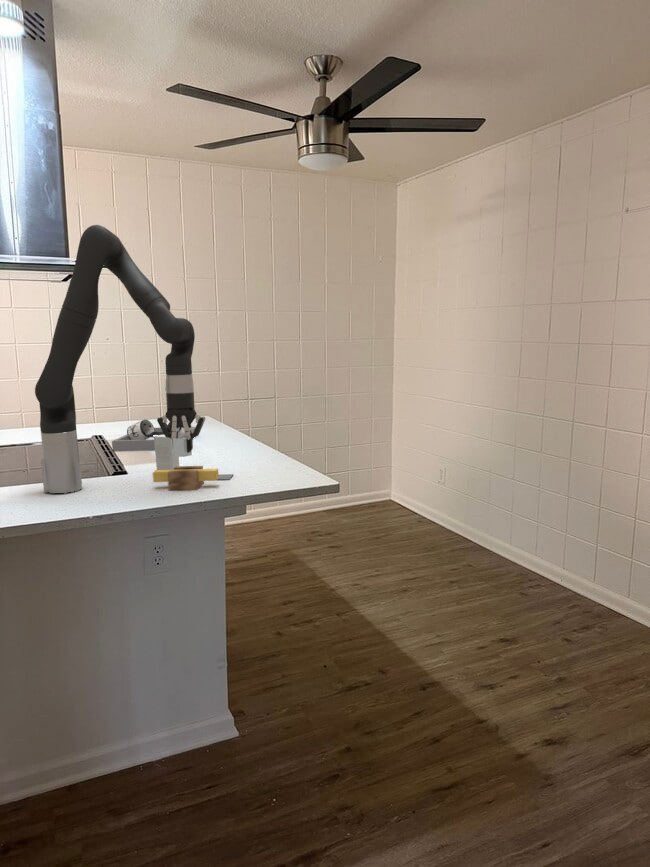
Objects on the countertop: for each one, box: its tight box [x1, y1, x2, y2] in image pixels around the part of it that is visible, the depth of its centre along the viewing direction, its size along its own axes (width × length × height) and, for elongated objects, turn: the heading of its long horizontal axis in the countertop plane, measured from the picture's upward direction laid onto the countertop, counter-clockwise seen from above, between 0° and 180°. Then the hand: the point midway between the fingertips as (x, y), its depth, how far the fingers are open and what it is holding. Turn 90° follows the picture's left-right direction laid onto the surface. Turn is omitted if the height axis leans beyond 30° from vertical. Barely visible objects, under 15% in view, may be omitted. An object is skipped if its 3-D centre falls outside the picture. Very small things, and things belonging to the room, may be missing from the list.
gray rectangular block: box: [173, 438, 193, 458], centre depth 167 cm, size 3×8×5 cm, turn 177°
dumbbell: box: [126, 419, 185, 440], centre depth 244 cm, size 25×10×10 cm, turn 85°
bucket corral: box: [111, 426, 196, 452], centre depth 245 cm, size 25×33×4 cm
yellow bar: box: [152, 468, 220, 483], centre depth 170 cm, size 18×3×3 cm, turn 88°
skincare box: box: [153, 435, 180, 470], centre depth 188 cm, size 6×4×12 cm
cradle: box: [168, 465, 205, 492], centre depth 170 cm, size 8×8×5 cm
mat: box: [217, 473, 234, 481], centre depth 180 cm, size 22×6×1 cm, turn 88°
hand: (182, 451), depth 168 cm, fingers closed on gray rectangular block, 2 cm apart
